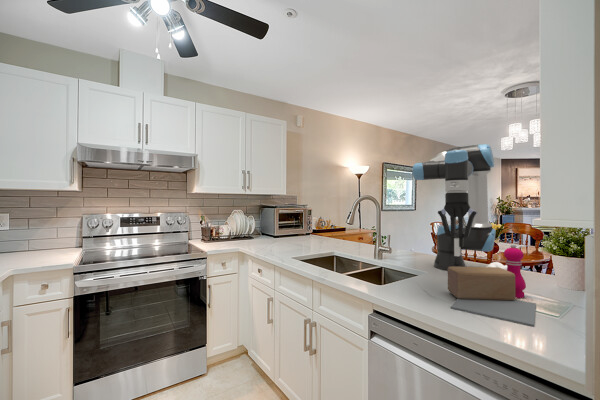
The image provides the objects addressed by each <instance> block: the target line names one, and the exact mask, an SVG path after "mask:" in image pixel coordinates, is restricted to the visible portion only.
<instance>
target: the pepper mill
mask: <svg viewBox="0 0 600 400" xmlns="http://www.w3.org/2000/svg"><path fill="white" fill-rule="evenodd" d="M503 256H504V257H505V265H507V271H509V272H512V273H514V274H515V295H516V298H515V299H523V298H522V297H524V298H525V291H524V290H526V288H527V284H526V281H525V279H524V278H523V276H522V272H521V266H522V265H523V261H522V259H523V258H524V253H523V250H521V249H519V248H517V244H516V243H511V245H510V247H508V248H506V249H505V250H504V251H503Z"/></svg>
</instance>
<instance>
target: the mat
mask: <svg viewBox="0 0 600 400" xmlns="http://www.w3.org/2000/svg"><path fill="white" fill-rule="evenodd" d="M536 307H537V303H536V302H530V301H523V300H520V299H515V300H487V299H459V298H457V299H456V300H455V301H454V302H453V303H452V304H451V306H450V309H452V310H456V311H460V312H465V313H470V314H474V315H479V316H484V317H488V318H491V319H492V318H493V319H497V320H501V321H506V322H511V323H514V324H519V325H520V324H521V325H524V326H529V327H534V328H535V322H536V312H535V311H537V310H536V309H537V308H536Z"/></svg>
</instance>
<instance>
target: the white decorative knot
mask: <svg viewBox="0 0 600 400" xmlns="http://www.w3.org/2000/svg"><path fill="white" fill-rule="evenodd" d="M486 267H499V268H502V269H504V270H507V264H505V265H504V264H502V263H501V262H500V261H499V262H498V261H495V262H491V263H489V264H488V265H487V266H486Z"/></svg>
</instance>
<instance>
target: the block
mask: <svg viewBox="0 0 600 400" xmlns="http://www.w3.org/2000/svg"><path fill="white" fill-rule="evenodd" d="M447 290H448V292H450V294H452V295H453V296H454V297H456V298H457V299H458V298H459V299H487V300H516V299H517V298H516V295H515V274H514V273H512V272H509V271H507V270H504V269H502V268H499V267H487V266H465V267H448V270H447Z"/></svg>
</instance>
